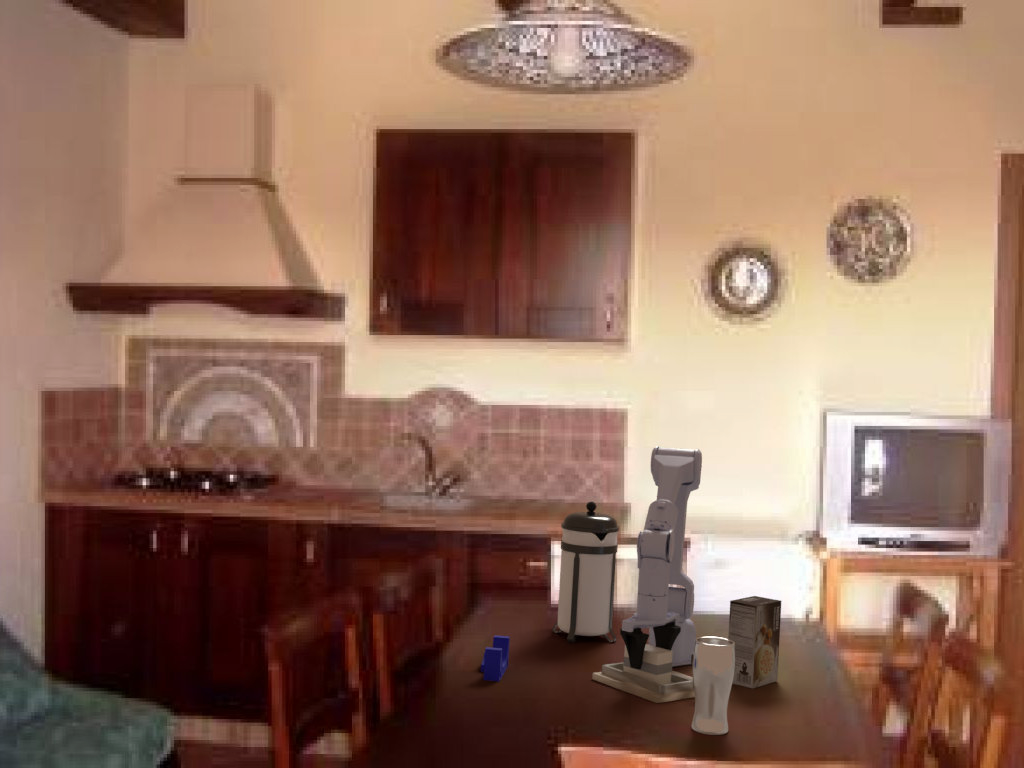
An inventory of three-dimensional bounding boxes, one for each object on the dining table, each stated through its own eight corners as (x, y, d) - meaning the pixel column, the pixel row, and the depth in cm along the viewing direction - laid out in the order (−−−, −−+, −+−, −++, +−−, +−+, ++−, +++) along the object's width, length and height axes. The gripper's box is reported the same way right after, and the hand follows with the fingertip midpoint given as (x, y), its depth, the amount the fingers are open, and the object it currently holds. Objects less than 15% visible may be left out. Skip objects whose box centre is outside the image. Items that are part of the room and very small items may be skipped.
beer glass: (684, 722, 212) (689, 635, 212) (724, 724, 213) (729, 636, 212) (694, 735, 205) (699, 645, 205) (735, 736, 206) (740, 646, 205)
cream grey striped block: (638, 673, 239) (639, 642, 239) (671, 682, 233) (673, 651, 233) (622, 676, 236) (624, 645, 236) (655, 686, 230) (657, 654, 230)
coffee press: (631, 636, 277) (639, 502, 277) (597, 648, 264) (605, 507, 263) (564, 624, 286) (571, 494, 286) (528, 635, 273) (535, 499, 272)
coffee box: (749, 675, 248) (754, 594, 248) (778, 681, 244) (783, 600, 243) (724, 682, 241) (729, 599, 241) (753, 689, 237) (758, 605, 237)
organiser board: (653, 670, 247) (655, 633, 247) (719, 692, 233) (721, 653, 233) (592, 679, 238) (594, 640, 238) (657, 703, 223) (659, 662, 223)
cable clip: (485, 664, 245) (487, 634, 245) (508, 666, 245) (509, 636, 245) (475, 680, 233) (477, 648, 233) (499, 682, 233) (501, 650, 233)
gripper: (660, 586, 242) (656, 656, 242) (611, 593, 232) (607, 665, 232) (689, 592, 237) (685, 663, 237) (640, 600, 227) (636, 674, 227)
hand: (648, 665), depth 234 cm, fingers open, 7 cm apart
